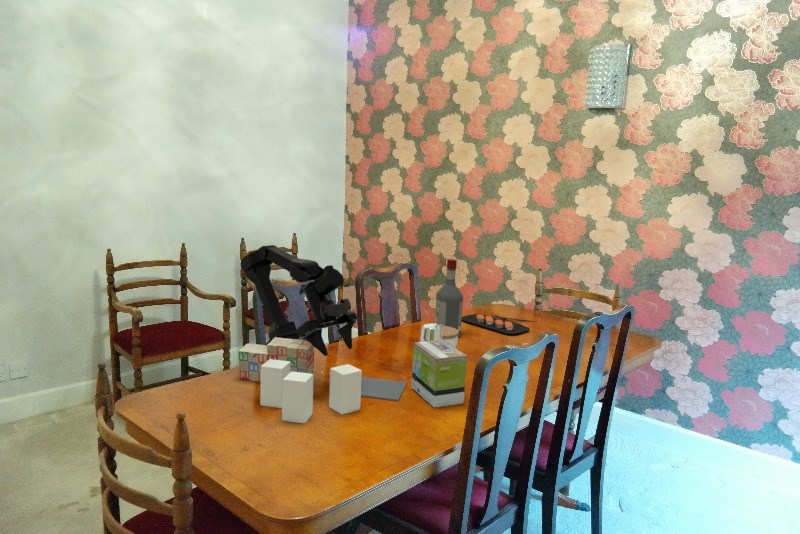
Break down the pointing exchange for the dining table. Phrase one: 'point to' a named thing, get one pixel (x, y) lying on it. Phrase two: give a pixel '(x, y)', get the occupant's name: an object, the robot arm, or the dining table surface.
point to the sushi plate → (497, 323)
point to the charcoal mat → (382, 388)
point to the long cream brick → (273, 382)
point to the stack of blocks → (276, 357)
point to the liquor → (449, 300)
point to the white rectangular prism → (345, 388)
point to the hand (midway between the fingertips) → (338, 352)
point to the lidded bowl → (450, 335)
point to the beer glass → (431, 332)
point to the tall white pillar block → (297, 397)
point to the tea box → (439, 373)
